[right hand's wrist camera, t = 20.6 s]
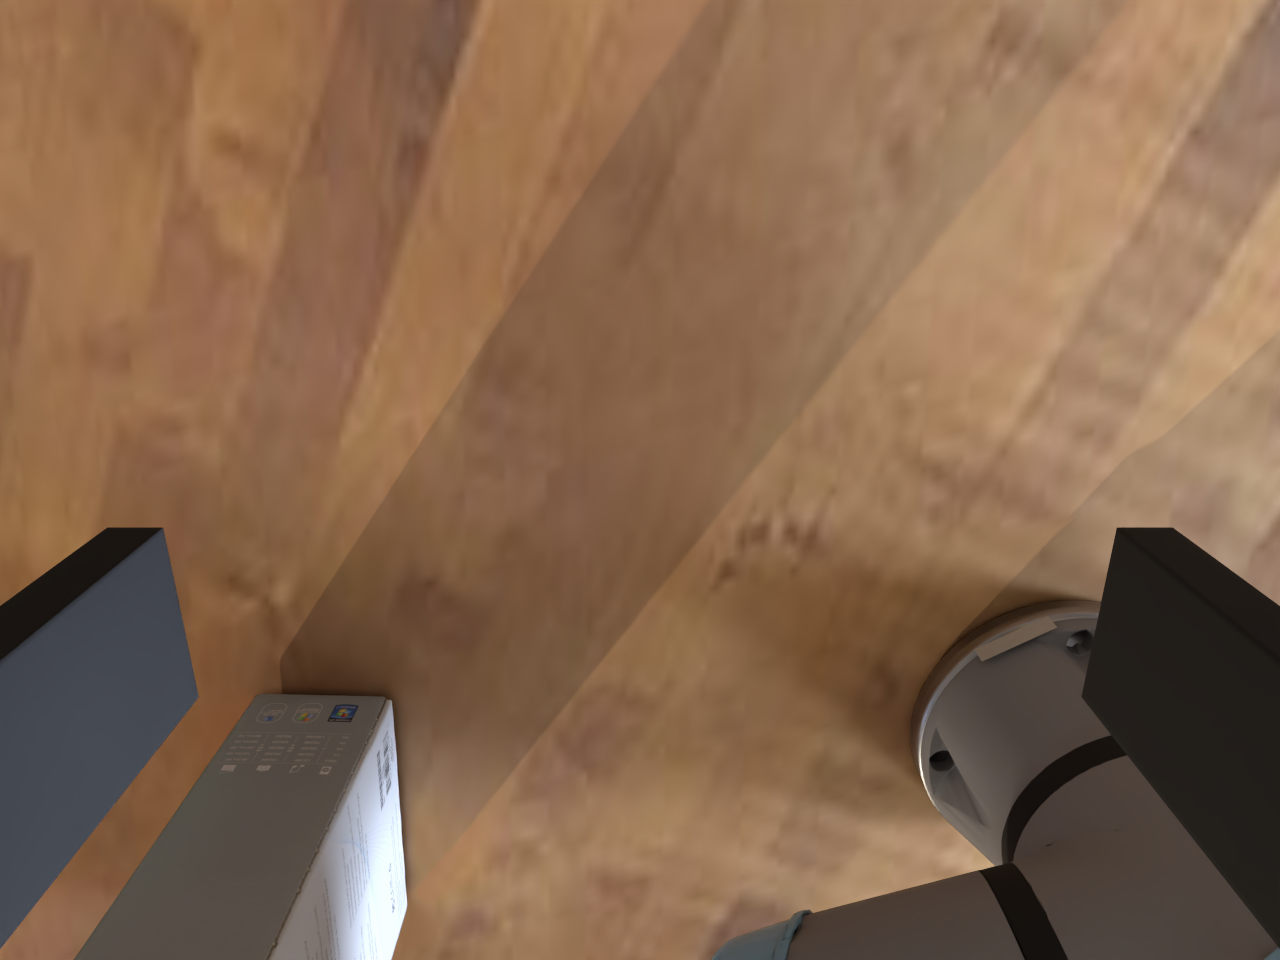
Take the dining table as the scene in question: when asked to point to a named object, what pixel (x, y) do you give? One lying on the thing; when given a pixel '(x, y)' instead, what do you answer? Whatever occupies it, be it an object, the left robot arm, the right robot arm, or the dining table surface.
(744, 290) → the dining table surface
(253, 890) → the hard drive box
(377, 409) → the dining table surface
